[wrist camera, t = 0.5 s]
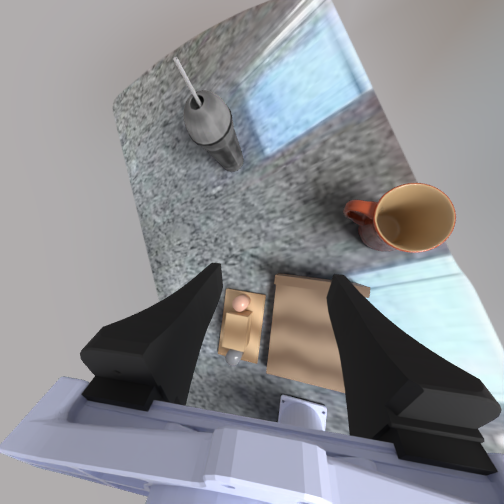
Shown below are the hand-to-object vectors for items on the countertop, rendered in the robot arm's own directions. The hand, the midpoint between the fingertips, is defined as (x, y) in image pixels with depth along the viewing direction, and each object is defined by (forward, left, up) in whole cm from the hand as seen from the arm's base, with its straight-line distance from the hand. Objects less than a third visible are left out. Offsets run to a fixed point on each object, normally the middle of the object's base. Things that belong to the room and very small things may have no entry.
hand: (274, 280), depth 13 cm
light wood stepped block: (-10, -5, -25) cm, 27 cm away
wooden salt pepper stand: (-12, +8, -26) cm, 29 cm away
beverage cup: (+21, +14, -25) cm, 36 cm away
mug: (+9, -13, -25) cm, 30 cm away
